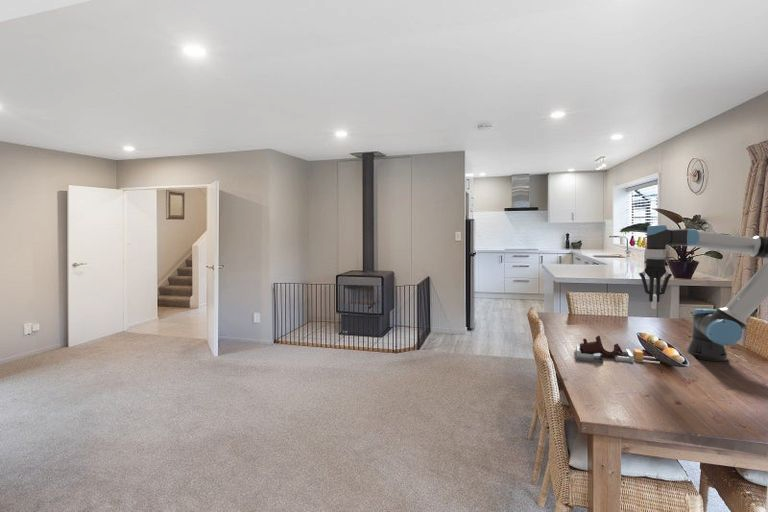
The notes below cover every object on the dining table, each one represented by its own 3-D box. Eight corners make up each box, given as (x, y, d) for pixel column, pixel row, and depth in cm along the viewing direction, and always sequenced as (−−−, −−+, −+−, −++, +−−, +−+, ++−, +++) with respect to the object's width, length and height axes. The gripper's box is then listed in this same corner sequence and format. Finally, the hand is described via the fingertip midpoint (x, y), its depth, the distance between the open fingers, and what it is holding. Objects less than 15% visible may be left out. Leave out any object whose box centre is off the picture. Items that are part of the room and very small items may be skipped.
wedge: (640, 357, 191) (640, 349, 191) (642, 361, 186) (643, 352, 186) (633, 357, 192) (633, 348, 192) (635, 360, 188) (635, 351, 187)
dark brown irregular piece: (624, 354, 188) (618, 332, 192) (585, 359, 192) (579, 338, 196) (621, 355, 194) (615, 334, 197) (583, 360, 198) (577, 339, 201)
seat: (654, 359, 192) (654, 350, 192) (661, 368, 181) (661, 359, 180) (574, 352, 205) (574, 343, 205) (576, 360, 193) (576, 351, 193)
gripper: (670, 257, 190) (668, 308, 192) (637, 257, 195) (636, 306, 197) (674, 259, 183) (672, 311, 185) (640, 258, 188) (639, 309, 190)
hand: (653, 308), depth 191 cm, fingers closed
